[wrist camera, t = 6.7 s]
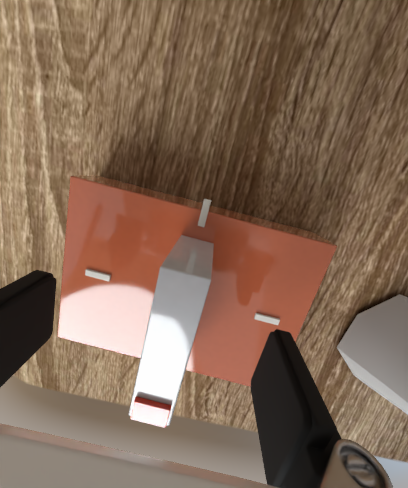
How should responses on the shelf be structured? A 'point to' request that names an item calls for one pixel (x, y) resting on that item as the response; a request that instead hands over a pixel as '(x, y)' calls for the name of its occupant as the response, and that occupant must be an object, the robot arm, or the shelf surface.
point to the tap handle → (171, 329)
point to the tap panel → (153, 255)
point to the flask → (380, 349)
